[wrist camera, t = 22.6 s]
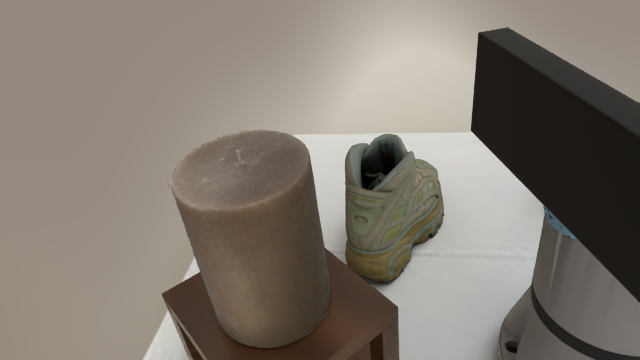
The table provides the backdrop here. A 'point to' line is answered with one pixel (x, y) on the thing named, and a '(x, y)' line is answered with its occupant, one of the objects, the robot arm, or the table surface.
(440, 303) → the table surface
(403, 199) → the sneaker
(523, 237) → the table surface
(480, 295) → the table surface
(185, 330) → the shelf rack
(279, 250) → the pillar candle
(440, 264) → the table surface
